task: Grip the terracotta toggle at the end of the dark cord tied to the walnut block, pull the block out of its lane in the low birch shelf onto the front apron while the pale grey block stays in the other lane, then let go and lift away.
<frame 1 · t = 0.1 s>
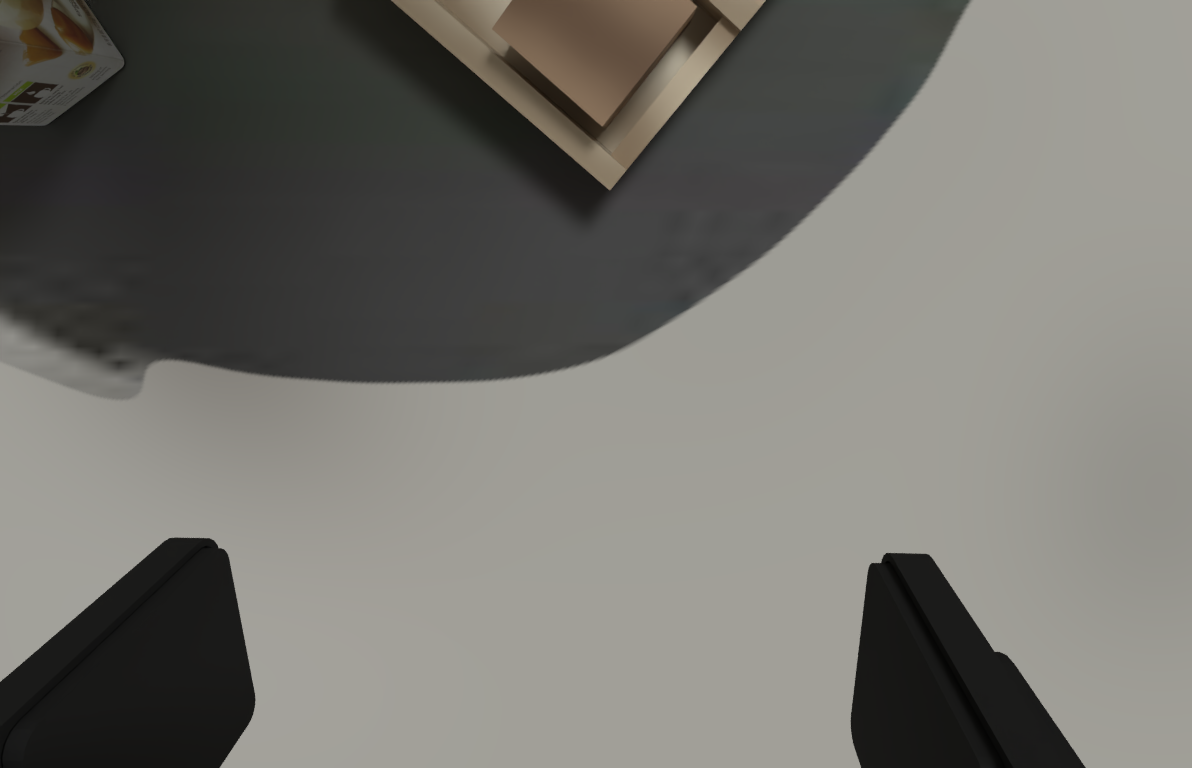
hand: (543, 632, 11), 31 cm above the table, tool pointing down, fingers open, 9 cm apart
coffee box: (31, 12, 38), on the table
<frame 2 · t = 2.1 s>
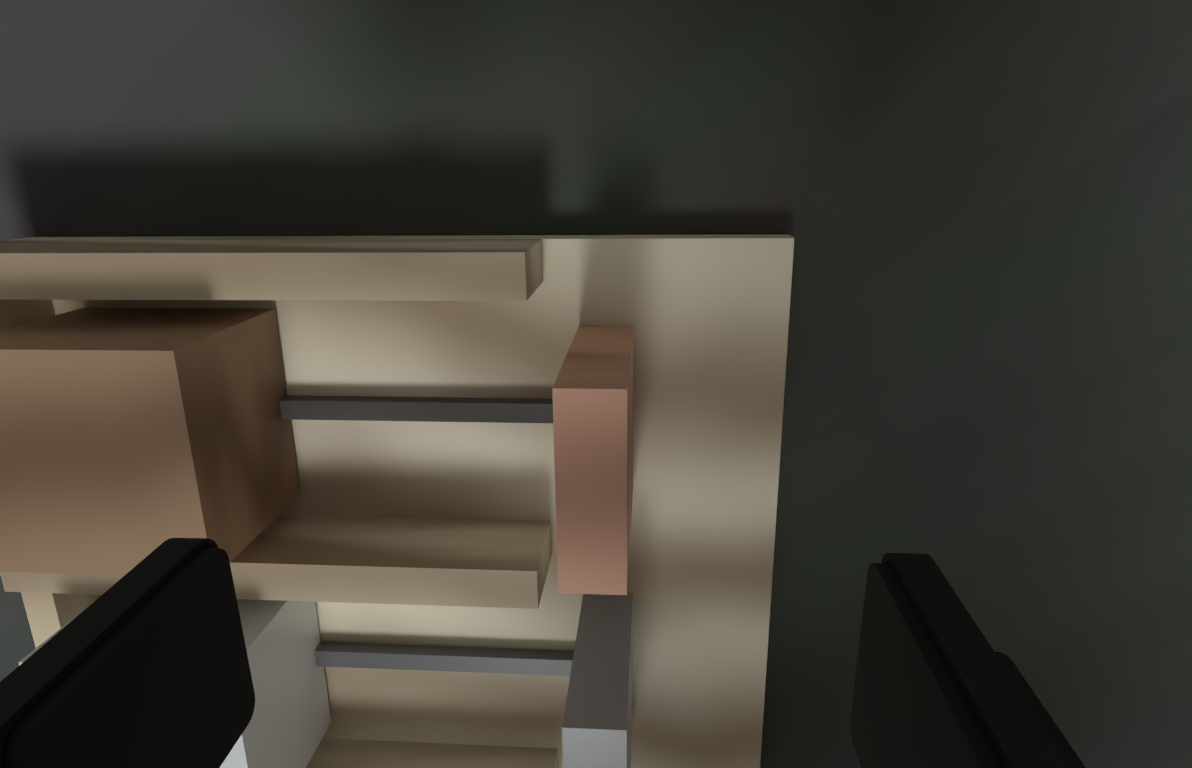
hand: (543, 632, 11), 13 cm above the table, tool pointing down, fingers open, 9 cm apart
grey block: (354, 714, 23), point 4 cm above the table, slide at 0.0 cm
lane shelf: (421, 520, 25), on the table
walnut block: (320, 441, 20), point 4 cm above the table, slide at 0.0 cm
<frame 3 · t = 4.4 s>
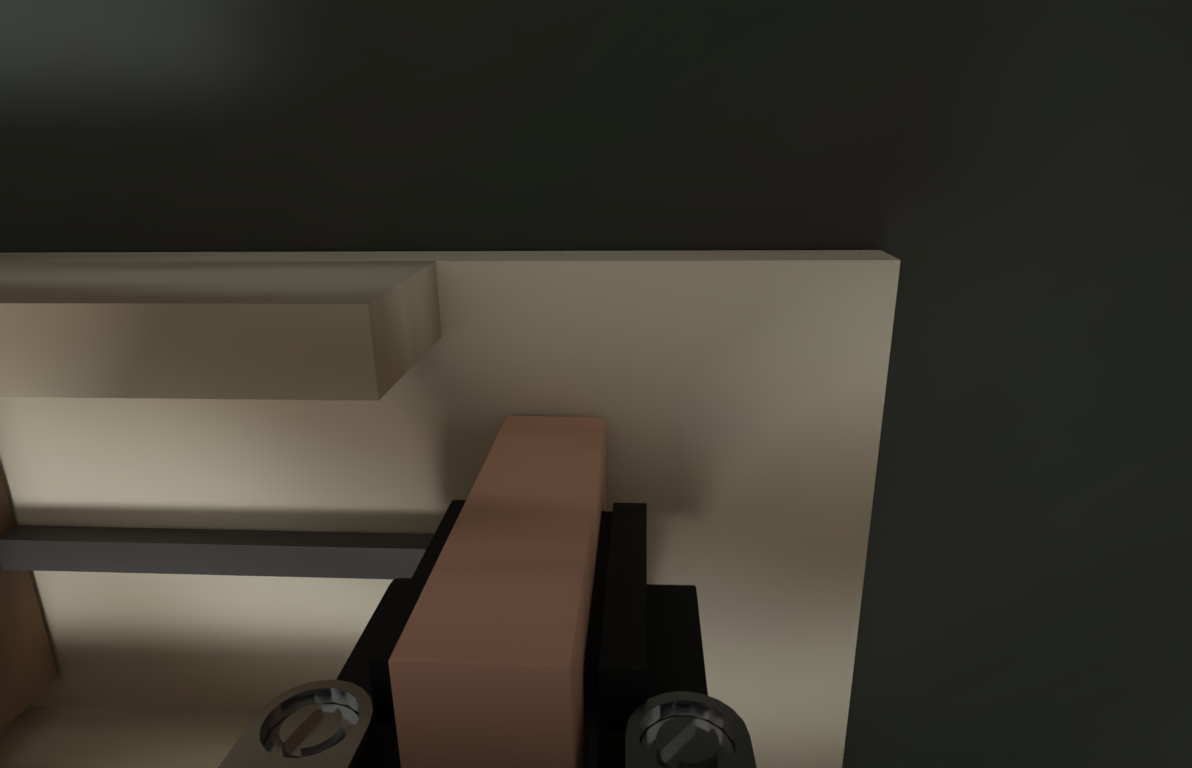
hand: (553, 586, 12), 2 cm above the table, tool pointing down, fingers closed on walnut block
lane shelf: (272, 701, 16), on the table
walnut block: (8, 652, 11), point 4 cm above the table, slide at 0.0 cm, touching gripper
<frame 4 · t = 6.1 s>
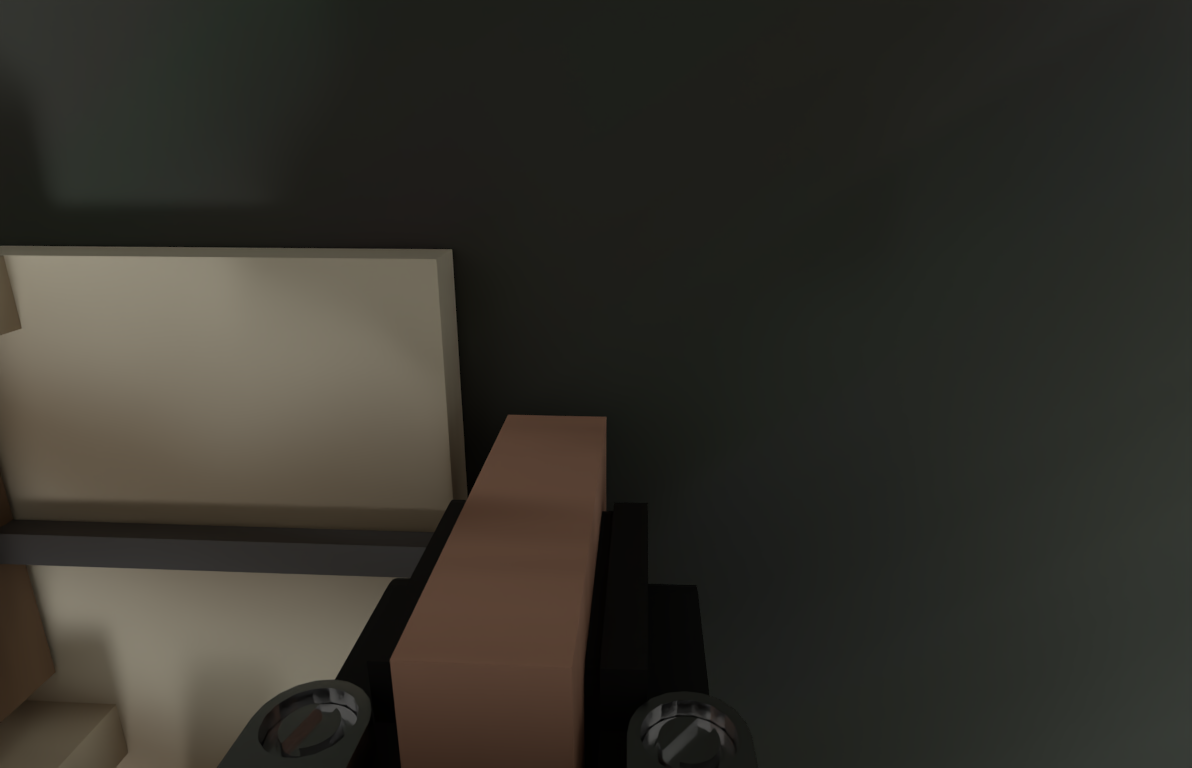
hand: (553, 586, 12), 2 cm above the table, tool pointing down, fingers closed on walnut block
walnut block: (5, 647, 11), point 4 cm above the table, slide at 7.0 cm, touching gripper
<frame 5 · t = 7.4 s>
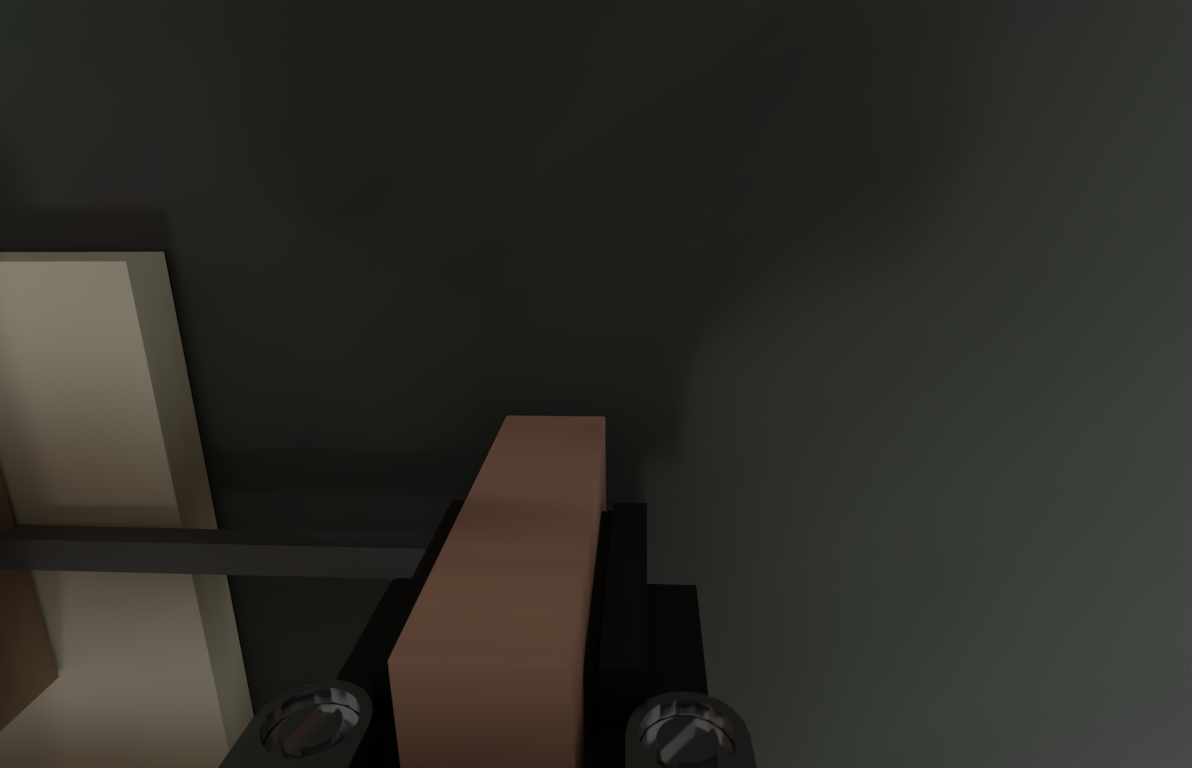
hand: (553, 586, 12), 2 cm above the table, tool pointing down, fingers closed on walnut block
walnut block: (8, 652, 11), point 4 cm above the table, slide at 12.0 cm, touching gripper
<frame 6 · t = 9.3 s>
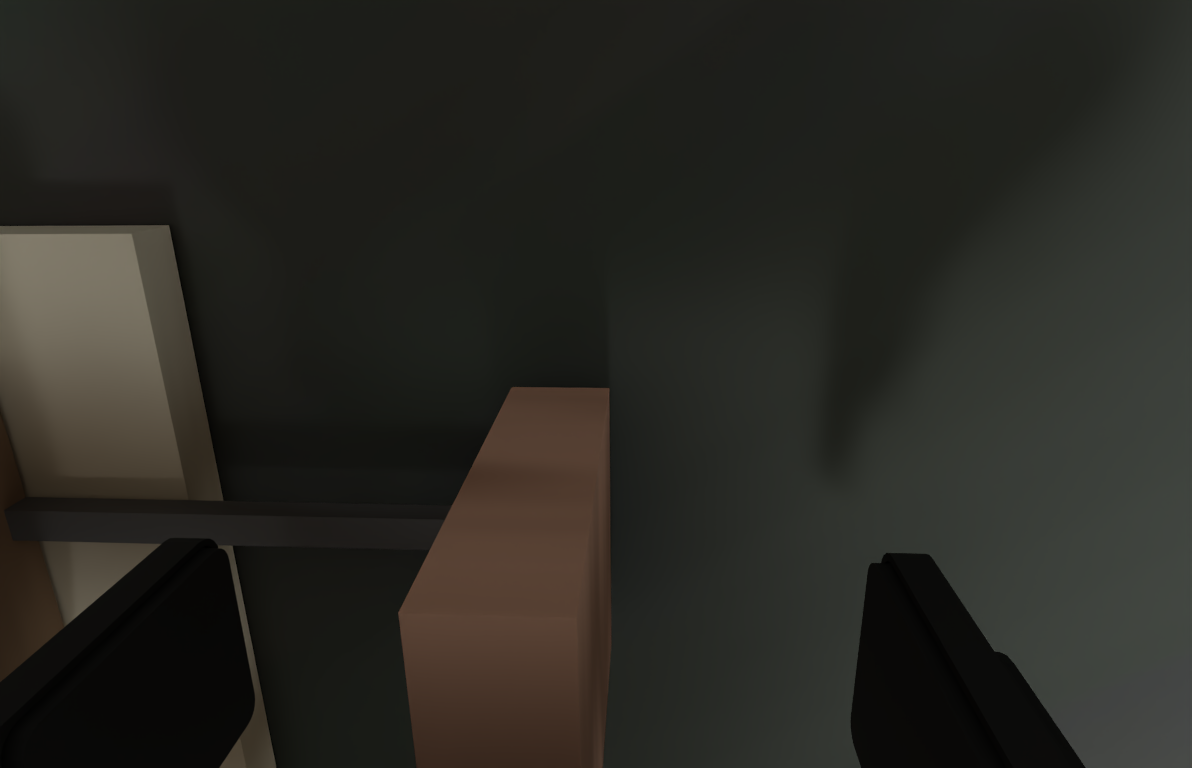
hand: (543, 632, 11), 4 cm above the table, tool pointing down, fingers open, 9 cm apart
walnut block: (21, 617, 11), point 4 cm above the table, slide at 12.0 cm
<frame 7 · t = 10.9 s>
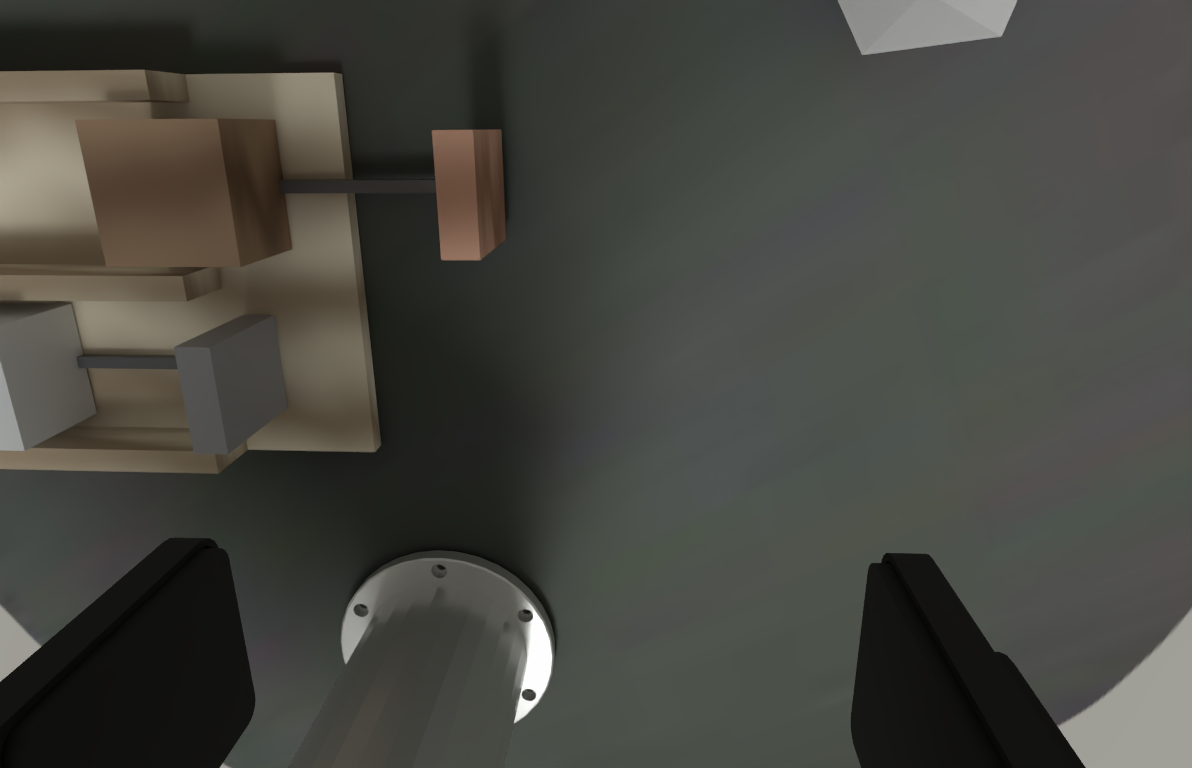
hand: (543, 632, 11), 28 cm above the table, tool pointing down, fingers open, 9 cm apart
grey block: (86, 378, 37), point 4 cm above the table, slide at 0.0 cm
lane shelf: (145, 272, 39), on the table
walnut block: (303, 191, 33), point 4 cm above the table, slide at 12.0 cm
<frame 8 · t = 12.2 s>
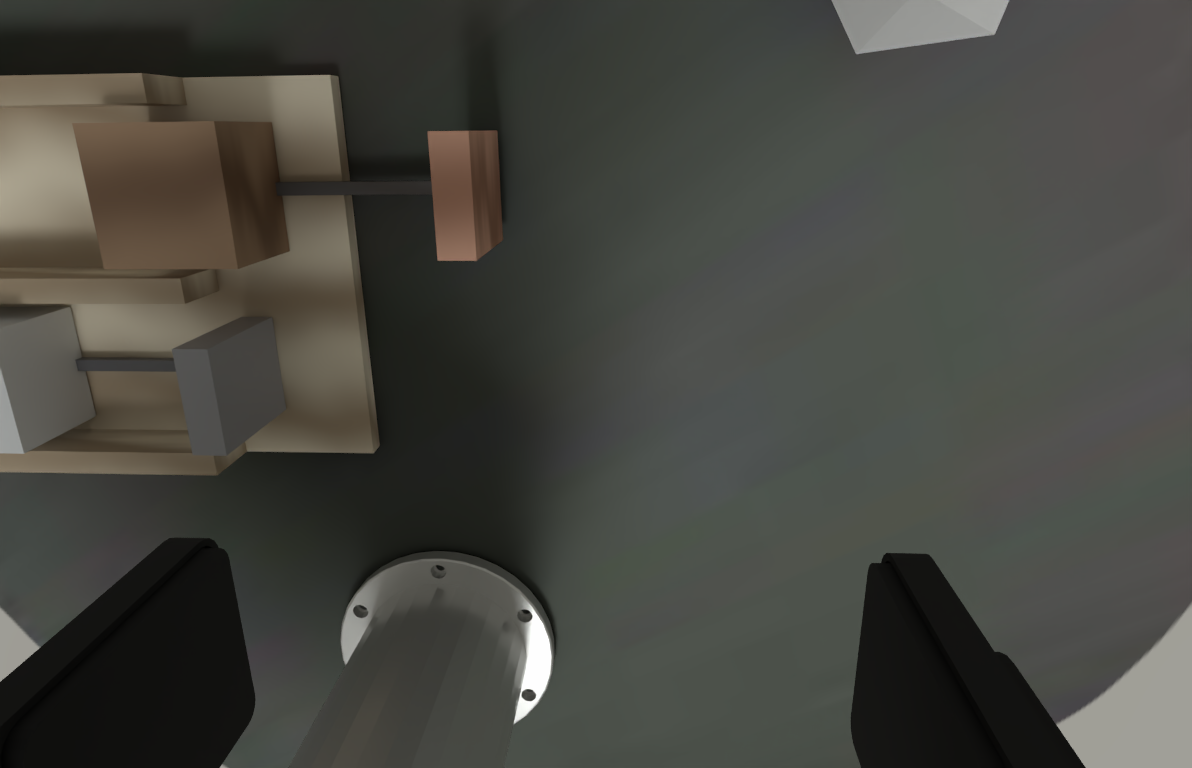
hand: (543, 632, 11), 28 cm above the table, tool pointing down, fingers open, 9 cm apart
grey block: (85, 381, 37), point 4 cm above the table, slide at 0.0 cm
lane shelf: (143, 275, 39), on the table
walnut block: (300, 193, 33), point 4 cm above the table, slide at 12.0 cm
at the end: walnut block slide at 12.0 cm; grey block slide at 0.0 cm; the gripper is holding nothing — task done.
